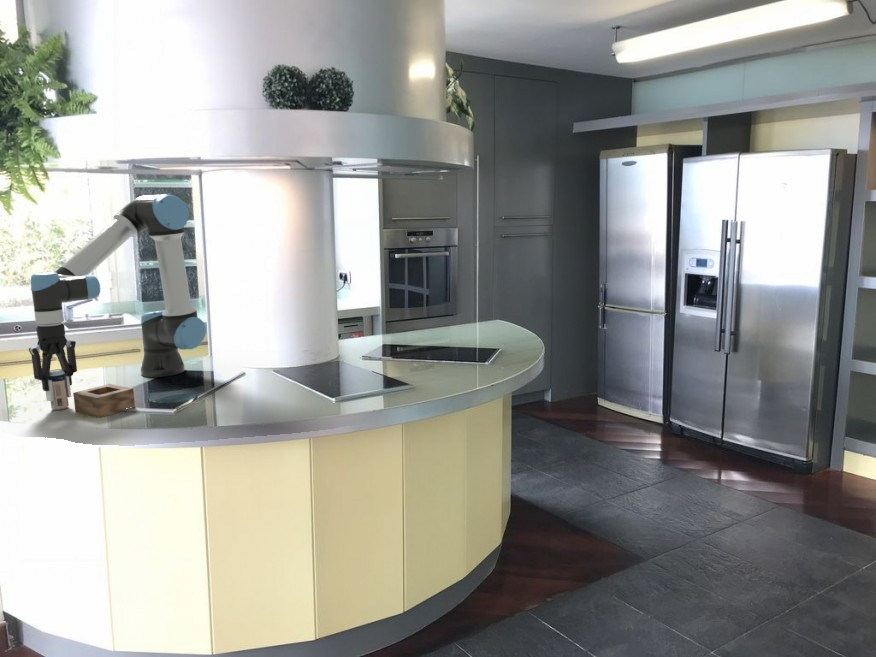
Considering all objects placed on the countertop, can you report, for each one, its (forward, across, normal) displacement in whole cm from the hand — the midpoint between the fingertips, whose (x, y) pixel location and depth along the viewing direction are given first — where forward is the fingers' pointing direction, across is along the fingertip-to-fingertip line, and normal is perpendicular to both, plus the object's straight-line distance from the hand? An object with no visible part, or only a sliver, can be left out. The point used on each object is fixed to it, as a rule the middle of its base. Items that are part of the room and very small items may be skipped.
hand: (59, 398), depth 221 cm
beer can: (+3, 0, 0) cm, 3 cm away
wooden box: (+3, -6, +14) cm, 16 cm away
